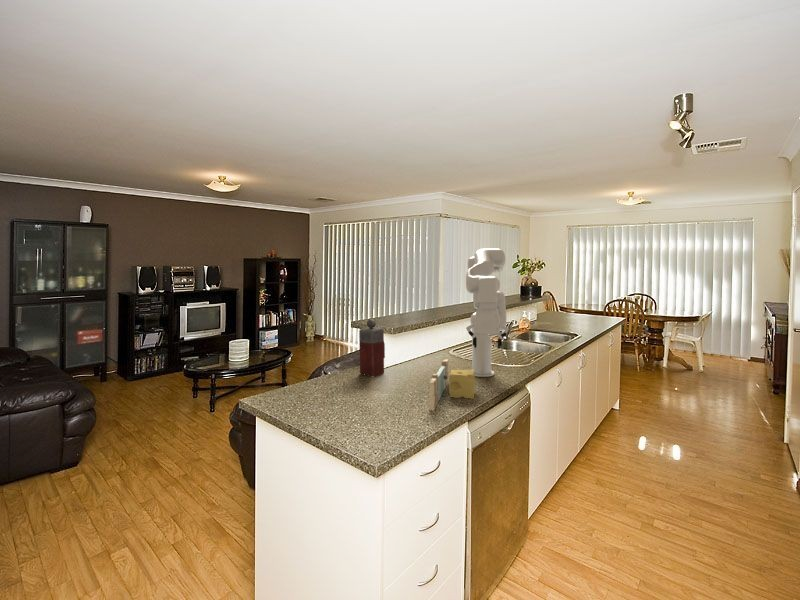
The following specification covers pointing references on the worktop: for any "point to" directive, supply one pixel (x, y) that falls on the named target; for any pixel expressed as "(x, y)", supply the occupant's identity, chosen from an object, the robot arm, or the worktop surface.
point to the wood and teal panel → (435, 386)
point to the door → (441, 381)
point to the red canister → (371, 349)
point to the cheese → (462, 383)
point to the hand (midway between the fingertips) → (487, 347)
